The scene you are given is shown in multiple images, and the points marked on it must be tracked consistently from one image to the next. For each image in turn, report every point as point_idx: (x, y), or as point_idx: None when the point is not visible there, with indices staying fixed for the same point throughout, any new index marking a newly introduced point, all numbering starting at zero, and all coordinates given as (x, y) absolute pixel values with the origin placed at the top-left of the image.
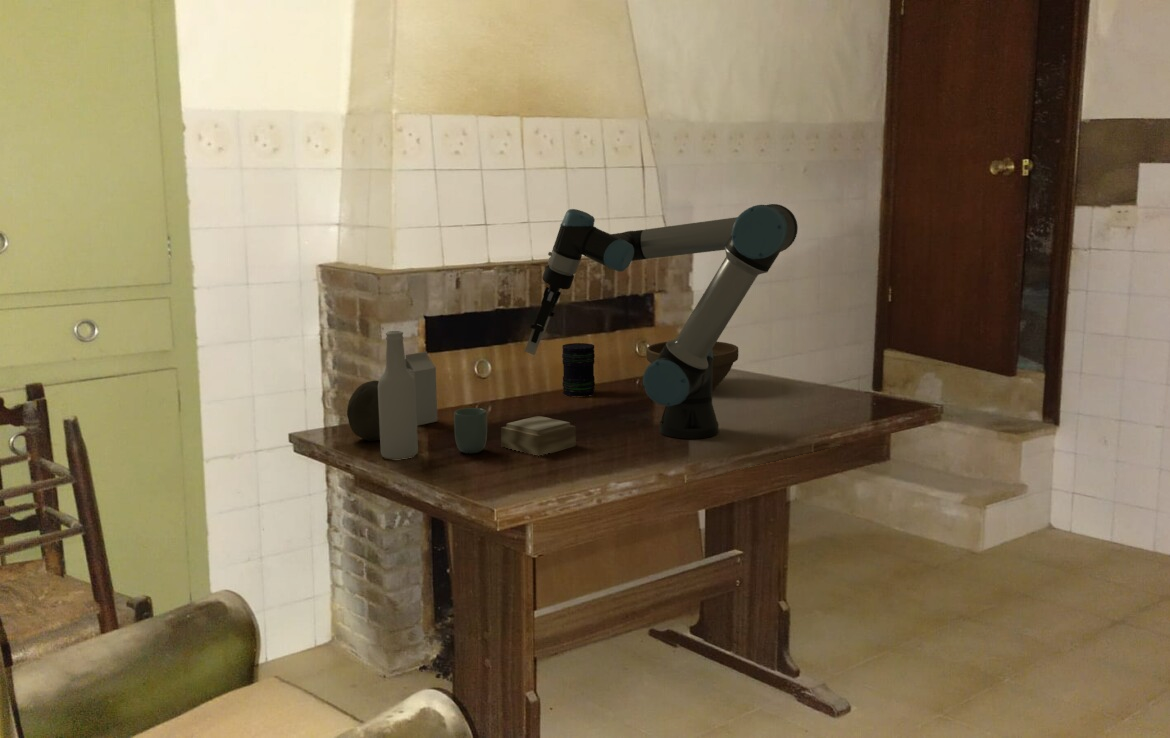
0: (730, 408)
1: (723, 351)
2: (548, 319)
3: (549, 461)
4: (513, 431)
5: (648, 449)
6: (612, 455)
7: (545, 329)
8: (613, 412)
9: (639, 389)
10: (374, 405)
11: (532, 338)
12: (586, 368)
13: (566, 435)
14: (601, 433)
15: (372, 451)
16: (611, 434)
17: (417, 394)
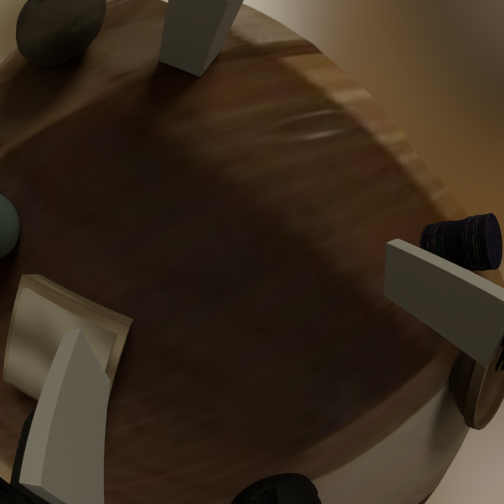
0: (396, 460)
1: (500, 385)
2: (477, 355)
3: (9, 391)
4: (13, 313)
5: (151, 500)
6: None
7: (427, 324)
8: (363, 358)
9: None
10: (16, 30)
11: (24, 435)
12: (462, 264)
13: None
14: (215, 417)
15: (5, 86)
16: (215, 434)
17: (168, 22)
